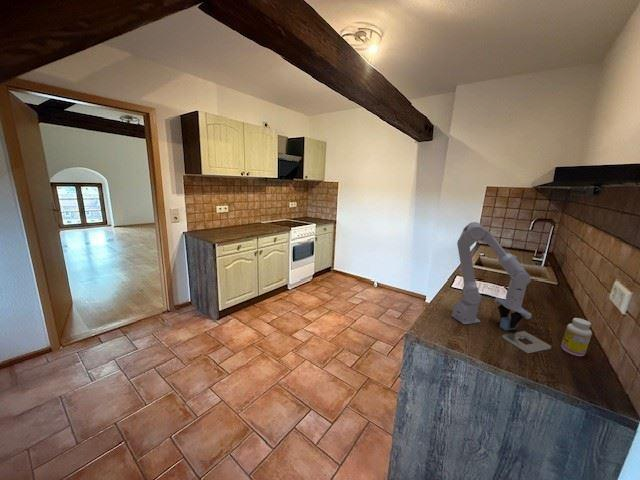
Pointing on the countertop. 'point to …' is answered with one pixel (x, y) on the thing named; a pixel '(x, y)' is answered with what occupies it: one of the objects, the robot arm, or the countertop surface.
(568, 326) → the supplement bottle
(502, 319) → the block
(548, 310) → the countertop surface
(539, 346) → the plate
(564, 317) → the countertop surface
